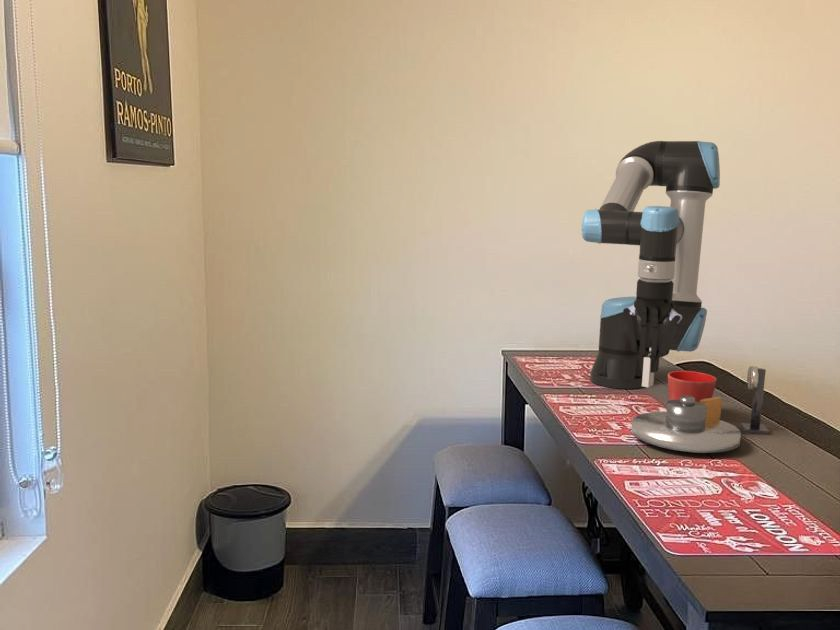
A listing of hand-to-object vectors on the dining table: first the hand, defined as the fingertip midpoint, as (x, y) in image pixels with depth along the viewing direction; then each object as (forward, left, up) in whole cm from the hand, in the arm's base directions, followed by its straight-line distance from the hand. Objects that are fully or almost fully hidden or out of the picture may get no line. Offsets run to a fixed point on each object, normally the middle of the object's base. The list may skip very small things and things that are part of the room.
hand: (647, 385), depth 183 cm
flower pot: (-13, +12, -10) cm, 20 cm away
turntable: (+7, +8, -9) cm, 13 cm away
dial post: (-5, +25, -10) cm, 27 cm away
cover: (+7, +7, -7) cm, 12 cm away
